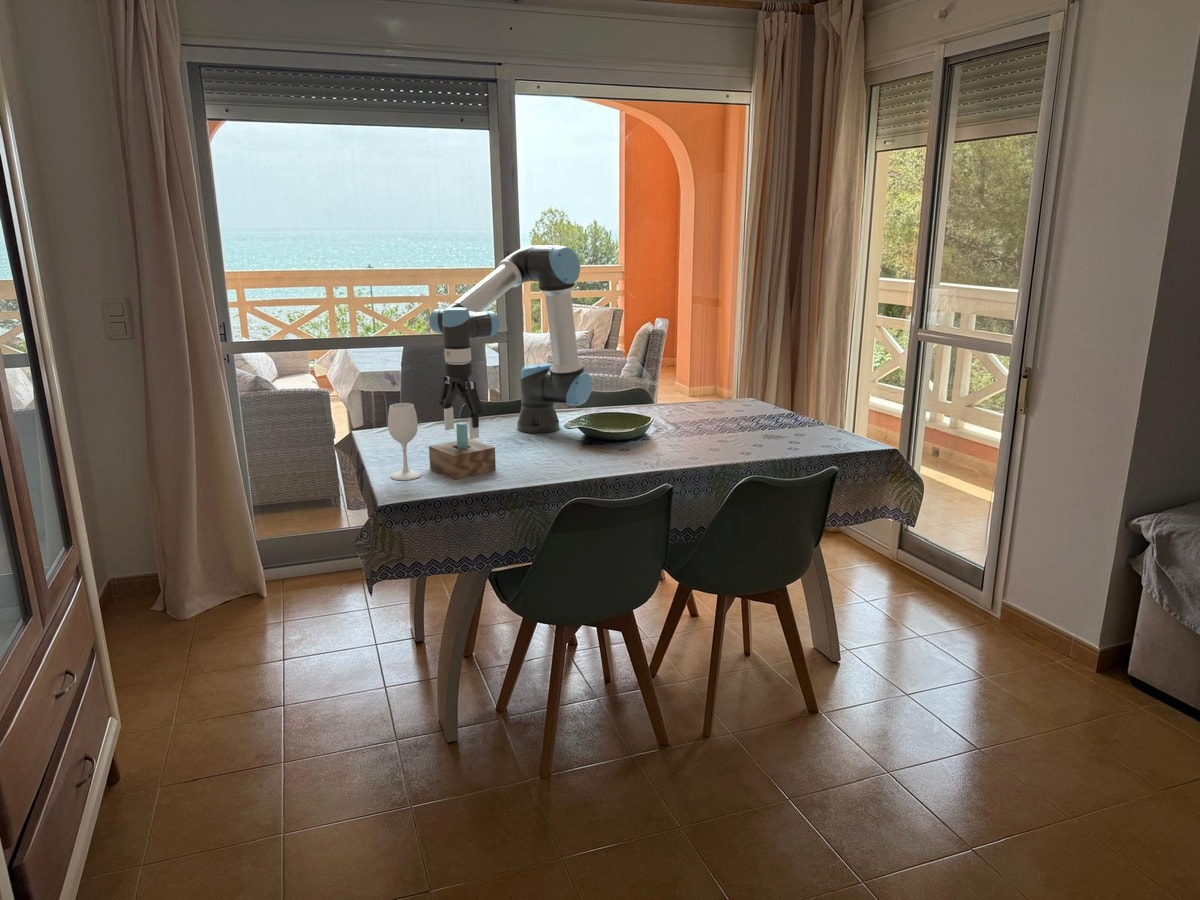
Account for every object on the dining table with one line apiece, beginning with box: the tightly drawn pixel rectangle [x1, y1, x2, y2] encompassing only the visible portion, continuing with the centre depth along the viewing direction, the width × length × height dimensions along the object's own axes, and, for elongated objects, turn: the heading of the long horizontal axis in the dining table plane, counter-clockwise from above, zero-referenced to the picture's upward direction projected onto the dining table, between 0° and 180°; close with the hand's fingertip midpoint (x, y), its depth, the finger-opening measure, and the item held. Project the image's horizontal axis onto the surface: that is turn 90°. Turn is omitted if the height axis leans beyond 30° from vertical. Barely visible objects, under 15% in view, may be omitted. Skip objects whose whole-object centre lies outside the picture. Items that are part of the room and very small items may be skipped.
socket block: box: [428, 438, 497, 480], centre depth 238 cm, size 14×14×7 cm
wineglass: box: [387, 402, 422, 481], centre depth 229 cm, size 9×9×21 cm
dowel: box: [455, 422, 469, 450], centre depth 236 cm, size 3×3×12 cm
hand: (461, 433), depth 236 cm, fingers open, 13 cm apart
